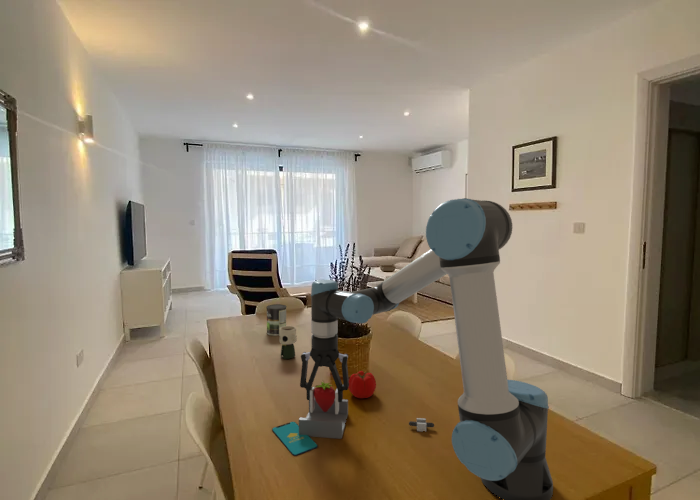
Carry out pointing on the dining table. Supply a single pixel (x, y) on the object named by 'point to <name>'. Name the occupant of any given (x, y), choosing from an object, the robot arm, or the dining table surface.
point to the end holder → (325, 421)
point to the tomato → (362, 384)
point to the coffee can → (275, 318)
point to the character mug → (287, 341)
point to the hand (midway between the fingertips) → (324, 411)
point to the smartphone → (294, 438)
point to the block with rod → (421, 424)
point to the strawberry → (324, 396)
